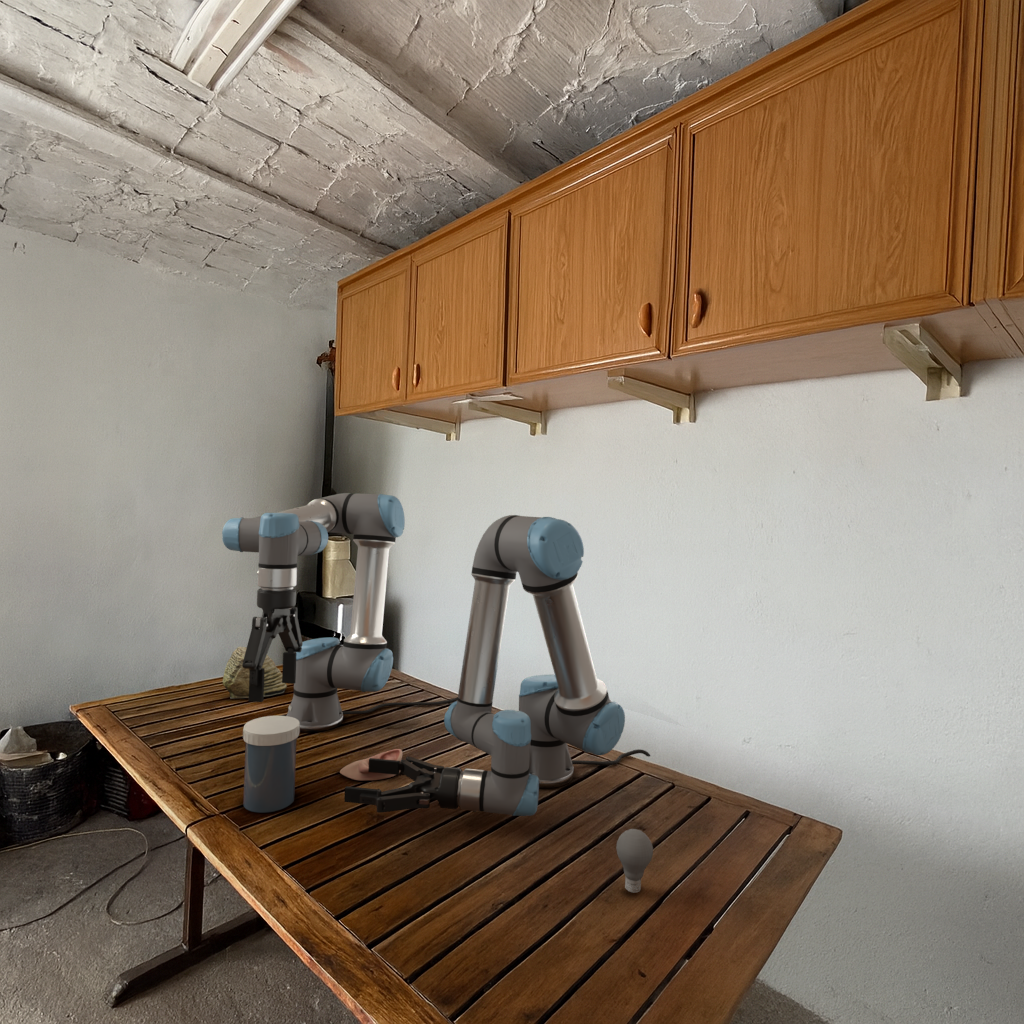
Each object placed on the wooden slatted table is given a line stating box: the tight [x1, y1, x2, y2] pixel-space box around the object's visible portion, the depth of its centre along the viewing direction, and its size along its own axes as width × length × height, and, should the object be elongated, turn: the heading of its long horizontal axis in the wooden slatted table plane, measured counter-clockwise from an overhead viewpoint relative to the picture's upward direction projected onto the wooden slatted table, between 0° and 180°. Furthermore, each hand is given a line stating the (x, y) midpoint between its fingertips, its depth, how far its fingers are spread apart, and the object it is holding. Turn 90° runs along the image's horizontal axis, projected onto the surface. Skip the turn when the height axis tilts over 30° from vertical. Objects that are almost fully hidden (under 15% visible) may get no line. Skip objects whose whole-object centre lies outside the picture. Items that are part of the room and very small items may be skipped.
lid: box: [242, 715, 301, 746], centre depth 131 cm, size 11×11×2 cm
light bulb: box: [615, 828, 654, 894], centre depth 106 cm, size 6×6×10 cm
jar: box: [242, 737, 298, 814], centre depth 131 cm, size 10×10×16 cm
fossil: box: [222, 646, 288, 699], centre depth 198 cm, size 9×18×15 cm, turn 132°
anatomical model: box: [339, 748, 404, 782], centre depth 147 cm, size 13×4×12 cm
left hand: (273, 691), depth 131 cm, fingers open, 12 cm apart
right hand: (357, 778), depth 128 cm, fingers open, 13 cm apart
